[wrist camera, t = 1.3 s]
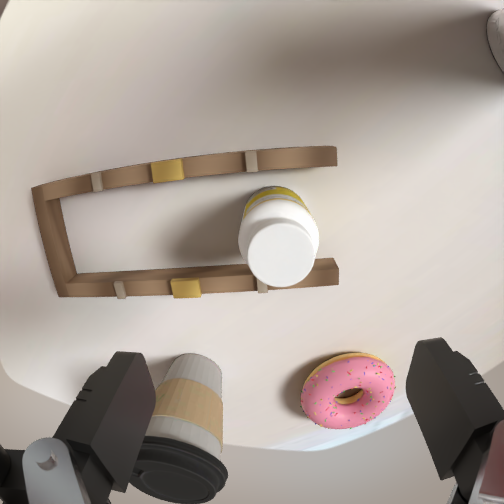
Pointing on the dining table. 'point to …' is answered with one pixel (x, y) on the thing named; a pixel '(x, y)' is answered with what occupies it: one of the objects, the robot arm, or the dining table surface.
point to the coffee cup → (184, 435)
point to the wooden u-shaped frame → (176, 279)
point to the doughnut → (340, 379)
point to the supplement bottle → (278, 237)
